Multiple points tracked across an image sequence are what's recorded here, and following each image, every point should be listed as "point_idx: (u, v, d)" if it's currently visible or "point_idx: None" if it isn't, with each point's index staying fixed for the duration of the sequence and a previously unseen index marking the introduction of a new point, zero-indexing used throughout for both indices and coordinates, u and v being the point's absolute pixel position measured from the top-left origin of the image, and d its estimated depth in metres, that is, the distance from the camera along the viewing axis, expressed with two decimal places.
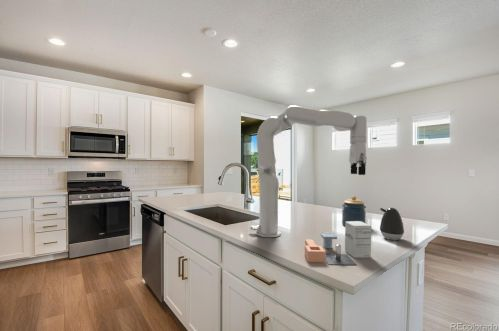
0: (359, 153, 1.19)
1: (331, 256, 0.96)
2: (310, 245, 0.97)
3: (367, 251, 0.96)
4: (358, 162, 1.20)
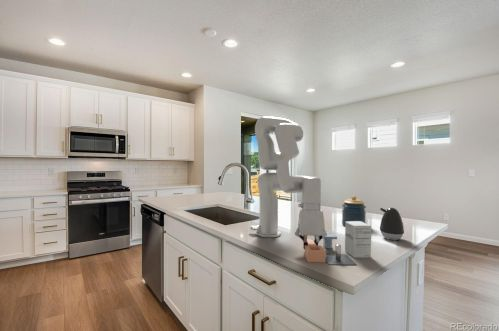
0: None
1: (331, 256, 0.96)
2: (310, 245, 0.97)
3: (367, 251, 0.96)
4: (317, 236, 1.00)
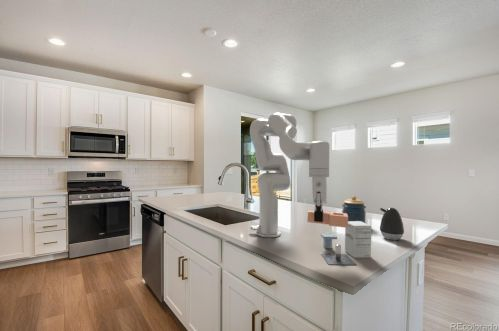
0: None
1: (331, 256, 0.96)
2: (329, 213, 0.93)
3: (367, 251, 0.96)
4: (322, 202, 0.97)
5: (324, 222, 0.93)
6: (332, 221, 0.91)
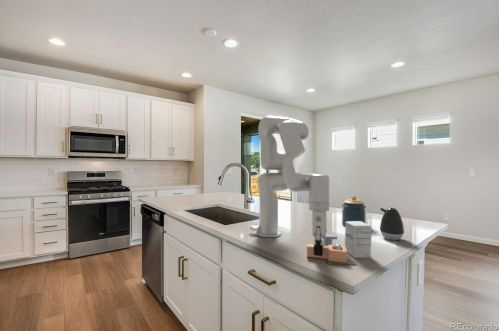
0: None
1: None
2: (328, 248, 0.94)
3: (367, 251, 0.96)
4: None
5: (323, 256, 0.94)
6: (331, 256, 0.91)
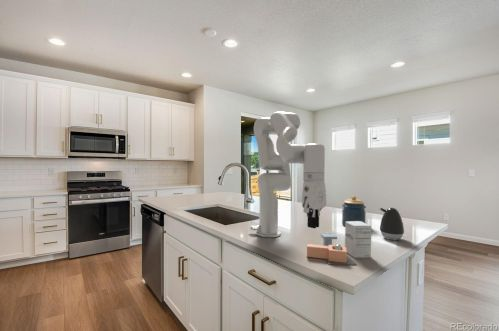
0: None
1: None
2: (328, 248, 0.94)
3: (367, 251, 0.96)
4: (319, 209, 0.91)
5: (323, 256, 0.94)
6: (331, 256, 0.91)
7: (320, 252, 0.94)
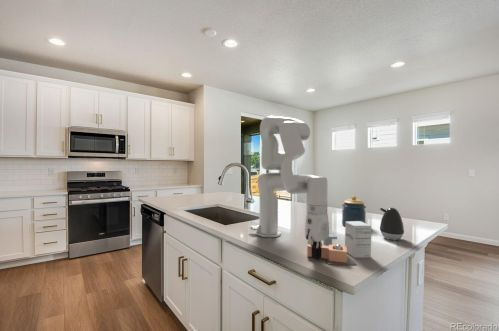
0: None
1: None
2: (328, 247, 0.94)
3: (367, 251, 0.96)
4: (321, 240, 0.92)
5: (324, 256, 0.94)
6: (331, 256, 0.91)
7: None
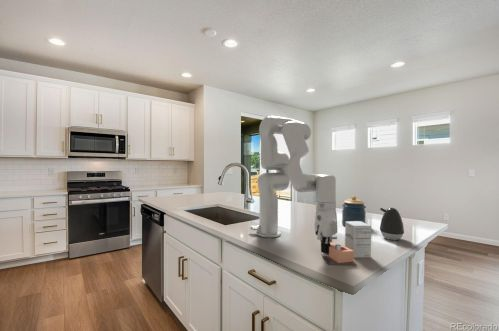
0: None
1: None
2: (333, 246, 0.96)
3: (367, 251, 0.96)
4: (330, 235, 0.97)
5: None
6: (330, 253, 0.94)
7: None
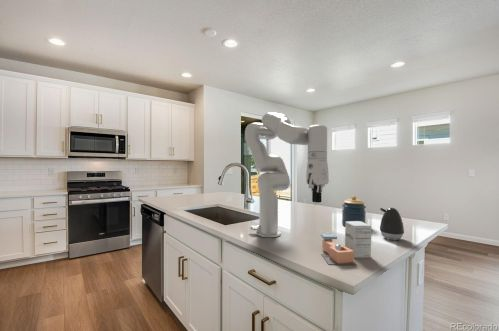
0: None
1: None
2: (334, 246, 0.96)
3: (367, 251, 0.96)
4: (321, 185, 0.98)
5: None
6: (330, 253, 0.94)
7: (328, 248, 0.99)
